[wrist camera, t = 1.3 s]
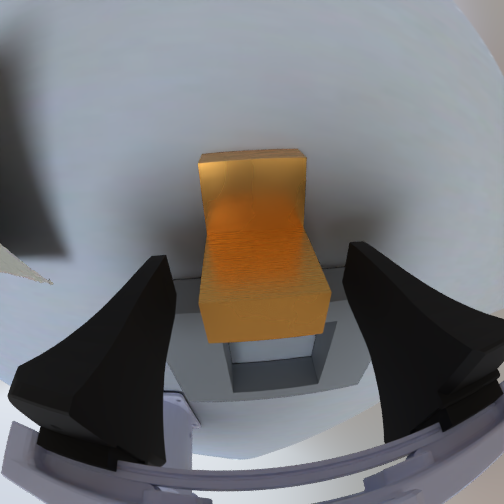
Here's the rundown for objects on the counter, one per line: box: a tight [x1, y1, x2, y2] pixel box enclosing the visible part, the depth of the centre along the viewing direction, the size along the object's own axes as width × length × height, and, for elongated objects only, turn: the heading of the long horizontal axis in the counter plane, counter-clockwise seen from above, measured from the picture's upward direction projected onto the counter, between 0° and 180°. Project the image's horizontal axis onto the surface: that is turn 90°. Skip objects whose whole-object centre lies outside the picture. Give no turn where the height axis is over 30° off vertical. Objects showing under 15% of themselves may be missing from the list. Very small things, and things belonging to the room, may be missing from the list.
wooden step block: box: [198, 149, 332, 343], centre depth 10 cm, size 5×4×6 cm
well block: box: [166, 267, 371, 402], centre depth 16 cm, size 10×13×2 cm
